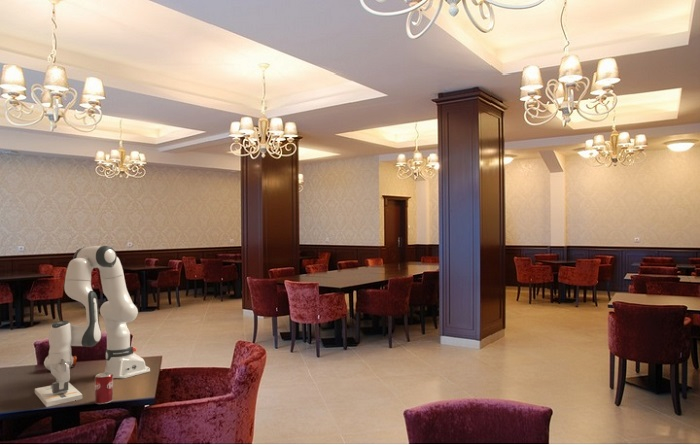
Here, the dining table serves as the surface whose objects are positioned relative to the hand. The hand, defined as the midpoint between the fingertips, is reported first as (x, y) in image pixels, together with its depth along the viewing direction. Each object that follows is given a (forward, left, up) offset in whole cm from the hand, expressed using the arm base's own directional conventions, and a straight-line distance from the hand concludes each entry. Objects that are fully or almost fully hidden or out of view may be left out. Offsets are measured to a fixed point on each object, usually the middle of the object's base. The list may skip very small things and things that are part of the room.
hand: (60, 387), depth 216 cm
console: (0, -4, -5) cm, 6 cm away
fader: (0, 0, -2) cm, 2 cm away
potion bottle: (-11, -52, -5) cm, 54 cm away
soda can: (-13, +19, -5) cm, 24 cm away
